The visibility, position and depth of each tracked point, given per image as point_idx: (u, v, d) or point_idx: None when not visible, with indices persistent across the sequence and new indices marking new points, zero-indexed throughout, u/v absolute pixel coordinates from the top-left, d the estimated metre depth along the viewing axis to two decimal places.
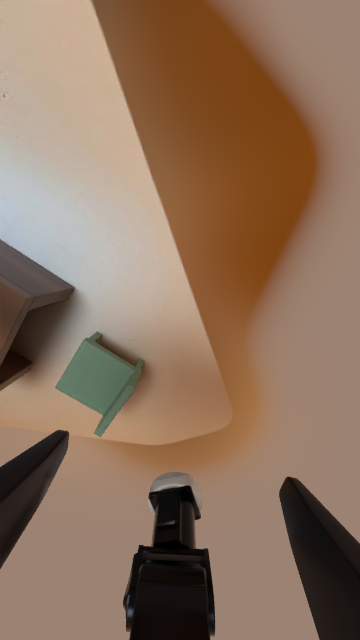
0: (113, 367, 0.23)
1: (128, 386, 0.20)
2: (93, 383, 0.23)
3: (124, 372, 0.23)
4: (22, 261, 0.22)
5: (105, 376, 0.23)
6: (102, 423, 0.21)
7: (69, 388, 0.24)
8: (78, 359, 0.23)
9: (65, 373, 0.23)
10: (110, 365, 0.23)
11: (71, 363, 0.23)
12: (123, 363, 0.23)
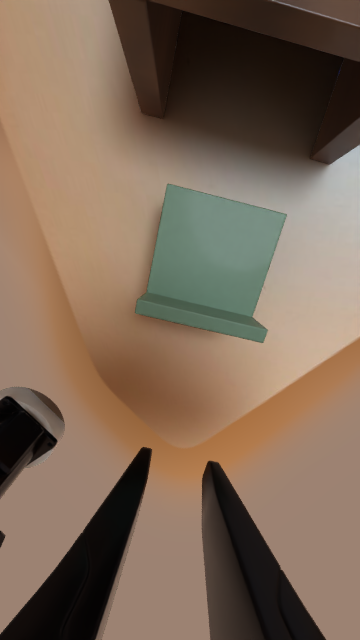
0: (248, 281, 0.13)
1: (264, 331, 0.11)
2: (205, 257, 0.13)
3: (244, 302, 0.13)
4: None
5: (226, 273, 0.13)
6: (168, 309, 0.11)
7: (177, 213, 0.12)
8: (244, 215, 0.12)
9: (207, 197, 0.12)
10: (250, 274, 0.13)
11: (232, 203, 0.12)
12: (259, 295, 0.13)
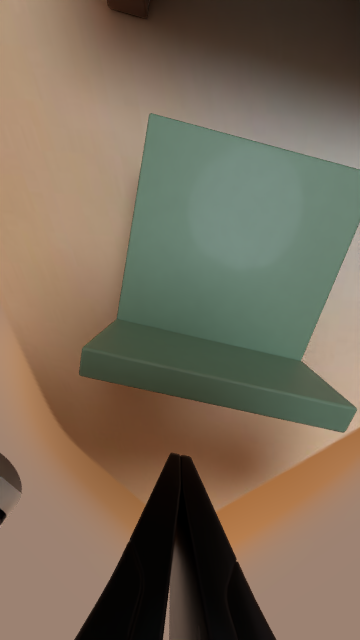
0: (297, 301, 0.07)
1: (350, 410, 0.05)
2: (222, 256, 0.07)
3: (289, 336, 0.08)
4: None
5: (258, 286, 0.07)
6: (148, 367, 0.05)
7: (170, 174, 0.06)
8: (298, 176, 0.06)
9: (227, 140, 0.06)
10: (303, 289, 0.07)
11: (275, 153, 0.06)
12: (315, 323, 0.08)
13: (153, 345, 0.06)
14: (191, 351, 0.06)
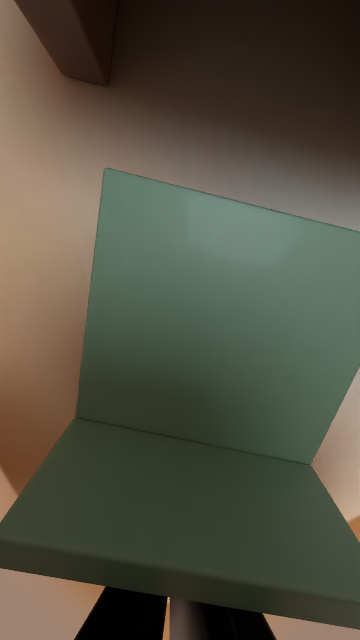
0: (307, 397, 0.06)
1: None
2: (208, 346, 0.05)
3: (295, 437, 0.06)
4: None
5: (256, 380, 0.06)
6: (92, 560, 0.03)
7: (136, 246, 0.05)
8: (310, 248, 0.05)
9: (212, 203, 0.04)
10: (314, 384, 0.06)
11: (278, 219, 0.05)
12: (329, 422, 0.06)
13: (111, 487, 0.04)
14: (165, 488, 0.05)
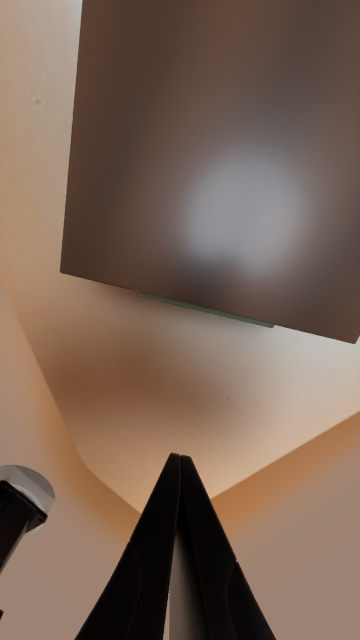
0: None
1: None
2: None
3: None
4: None
5: None
6: None
7: None
8: None
9: None
10: None
11: None
12: None
13: None
14: None
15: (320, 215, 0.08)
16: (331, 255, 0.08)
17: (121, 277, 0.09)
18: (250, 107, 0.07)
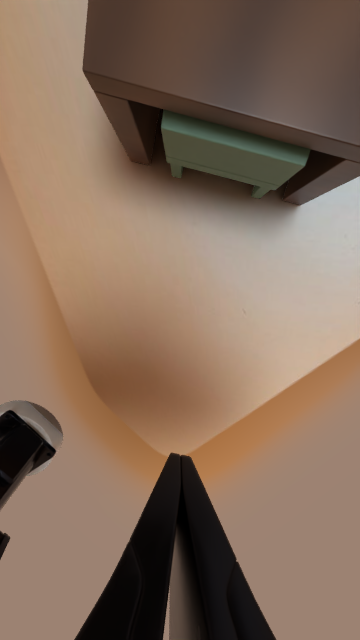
0: None
1: (307, 149, 0.10)
2: None
3: None
4: None
5: None
6: (198, 120, 0.10)
7: None
8: None
9: None
10: None
11: None
12: None
13: None
14: None
15: None
16: None
17: (148, 75, 0.08)
18: None
